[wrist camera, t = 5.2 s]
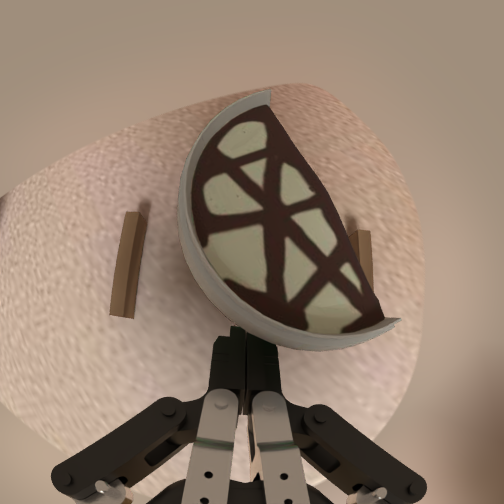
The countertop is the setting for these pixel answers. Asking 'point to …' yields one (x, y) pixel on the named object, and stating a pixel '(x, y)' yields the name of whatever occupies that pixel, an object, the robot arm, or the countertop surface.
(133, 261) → the slot rails
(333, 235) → the food container
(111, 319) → the countertop surface
